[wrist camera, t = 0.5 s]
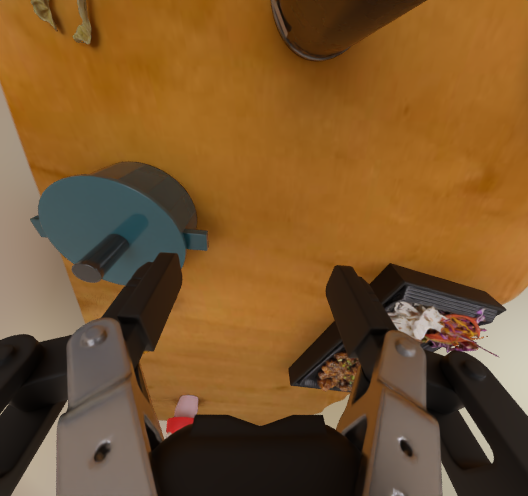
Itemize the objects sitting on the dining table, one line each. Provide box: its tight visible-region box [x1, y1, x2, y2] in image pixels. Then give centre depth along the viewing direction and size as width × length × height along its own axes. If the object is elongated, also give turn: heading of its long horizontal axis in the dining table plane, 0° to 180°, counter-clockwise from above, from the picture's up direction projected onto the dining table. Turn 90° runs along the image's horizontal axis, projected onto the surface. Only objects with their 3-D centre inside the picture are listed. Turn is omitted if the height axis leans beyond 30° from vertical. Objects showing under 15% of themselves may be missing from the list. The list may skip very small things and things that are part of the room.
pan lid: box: [38, 174, 187, 286], centre depth 20 cm, size 15×15×6 cm
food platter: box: [289, 263, 506, 392], centre depth 46 cm, size 45×25×10 cm, turn 160°
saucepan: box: [30, 162, 209, 251], centre depth 25 cm, size 14×19×7 cm
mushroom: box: [166, 395, 198, 438], centre depth 68 cm, size 11×11×12 cm
